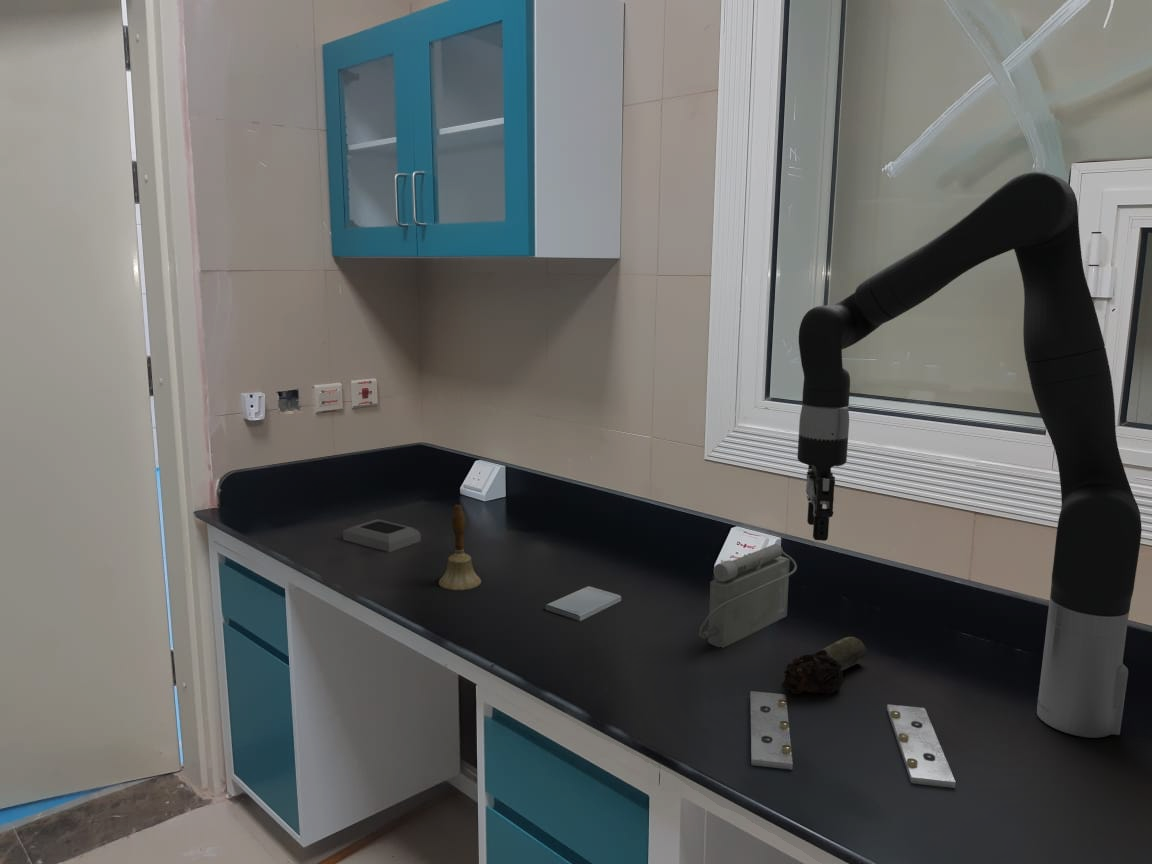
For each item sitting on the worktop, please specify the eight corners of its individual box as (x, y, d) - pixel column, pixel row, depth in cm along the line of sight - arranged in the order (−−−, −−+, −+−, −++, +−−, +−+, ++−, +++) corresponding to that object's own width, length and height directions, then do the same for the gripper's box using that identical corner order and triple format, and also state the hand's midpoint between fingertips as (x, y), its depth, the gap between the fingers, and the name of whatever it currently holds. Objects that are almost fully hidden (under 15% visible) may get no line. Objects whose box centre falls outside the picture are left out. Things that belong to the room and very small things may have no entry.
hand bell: (481, 590, 165) (479, 510, 162) (437, 591, 164) (435, 511, 161) (481, 575, 173) (480, 498, 170) (440, 576, 172) (438, 499, 169)
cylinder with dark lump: (838, 657, 138) (840, 624, 136) (876, 672, 133) (880, 638, 132) (775, 692, 126) (777, 656, 125) (815, 709, 121) (818, 673, 120)
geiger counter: (771, 536, 154) (685, 569, 137) (803, 544, 149) (717, 579, 132) (768, 609, 156) (683, 650, 139) (799, 619, 152) (714, 663, 135)
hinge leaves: (924, 713, 120) (925, 705, 119) (955, 788, 102) (955, 779, 102) (750, 696, 124) (750, 688, 124) (751, 765, 107) (751, 756, 106)
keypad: (374, 516, 202) (420, 527, 193) (375, 531, 202) (420, 542, 194) (342, 525, 194) (389, 537, 186) (343, 541, 195) (389, 553, 186)
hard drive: (580, 615, 150) (621, 594, 160) (544, 604, 155) (587, 584, 165) (580, 624, 150) (621, 603, 160) (545, 612, 156) (587, 592, 165)
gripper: (855, 442, 127) (847, 547, 130) (841, 426, 141) (835, 520, 144) (803, 440, 128) (797, 544, 131) (795, 424, 142) (789, 518, 145)
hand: (817, 531), depth 137 cm, fingers open, 8 cm apart
